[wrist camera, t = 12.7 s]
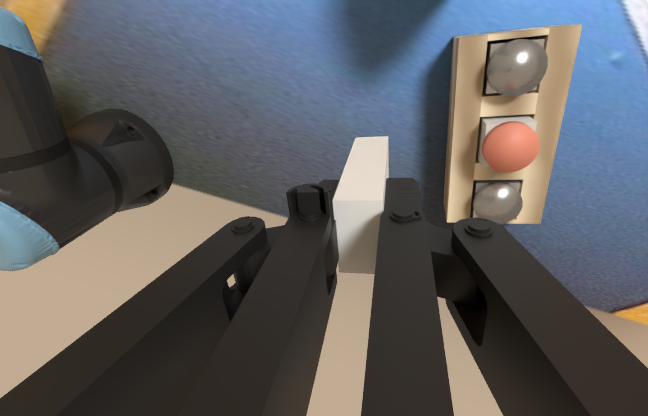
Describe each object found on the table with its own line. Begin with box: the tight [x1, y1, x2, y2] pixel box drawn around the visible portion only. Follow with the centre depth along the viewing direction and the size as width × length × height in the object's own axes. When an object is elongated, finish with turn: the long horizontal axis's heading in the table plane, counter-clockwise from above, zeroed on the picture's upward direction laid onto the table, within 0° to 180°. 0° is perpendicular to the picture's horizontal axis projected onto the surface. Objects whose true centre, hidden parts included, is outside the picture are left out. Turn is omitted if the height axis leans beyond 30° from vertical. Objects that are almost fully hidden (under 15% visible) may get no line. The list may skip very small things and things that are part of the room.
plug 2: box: [471, 180, 523, 225], centre depth 39 cm, size 5×5×6 cm
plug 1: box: [483, 37, 548, 96], centre depth 33 cm, size 5×5×6 cm
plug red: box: [476, 114, 540, 173], centre depth 35 cm, size 5×5×6 cm
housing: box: [443, 25, 582, 224], centre depth 37 cm, size 10×20×5 cm, turn 7°
